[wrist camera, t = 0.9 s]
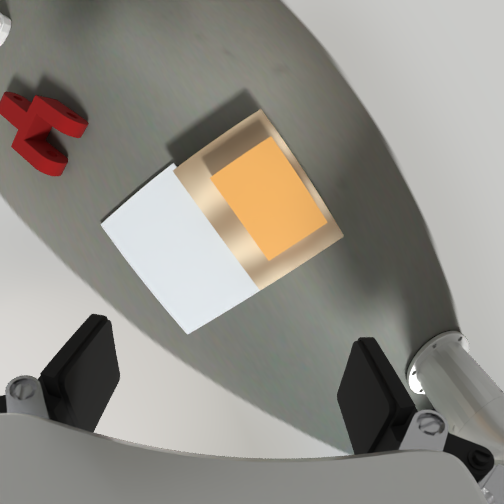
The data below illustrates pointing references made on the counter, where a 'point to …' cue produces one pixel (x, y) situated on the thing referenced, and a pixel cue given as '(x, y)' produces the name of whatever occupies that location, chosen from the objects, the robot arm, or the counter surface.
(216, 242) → the mat
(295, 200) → the slab
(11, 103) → the mechanical linkage
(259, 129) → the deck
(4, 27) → the white cup
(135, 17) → the counter surface
